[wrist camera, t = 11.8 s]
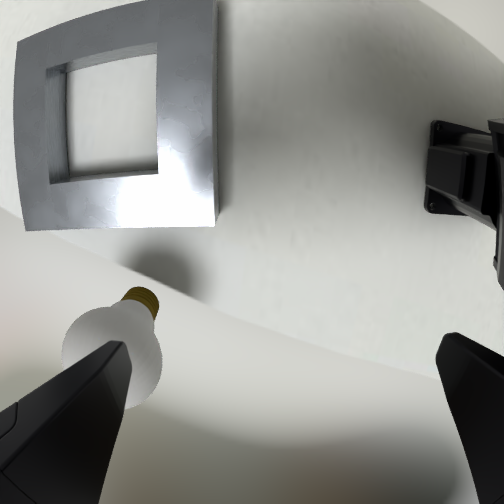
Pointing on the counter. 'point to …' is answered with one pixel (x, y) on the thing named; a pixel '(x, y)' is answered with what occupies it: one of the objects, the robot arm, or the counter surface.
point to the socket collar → (168, 119)
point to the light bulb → (121, 339)
